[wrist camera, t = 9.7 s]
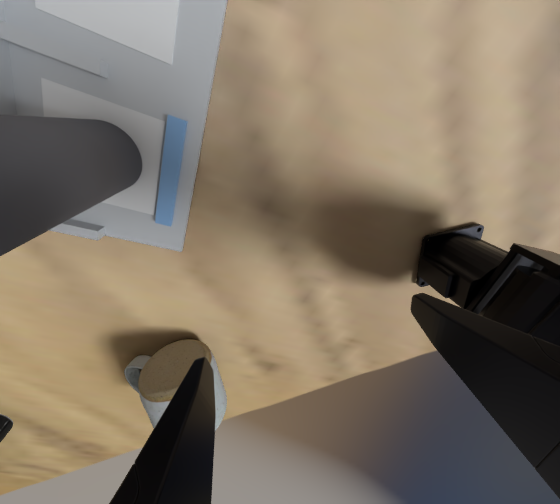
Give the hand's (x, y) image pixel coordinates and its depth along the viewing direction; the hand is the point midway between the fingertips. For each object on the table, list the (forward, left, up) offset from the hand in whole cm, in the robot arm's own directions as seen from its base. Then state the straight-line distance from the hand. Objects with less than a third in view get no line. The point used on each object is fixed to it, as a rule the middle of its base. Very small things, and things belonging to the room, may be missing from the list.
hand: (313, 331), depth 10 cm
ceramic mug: (+14, +15, -13) cm, 25 cm away
